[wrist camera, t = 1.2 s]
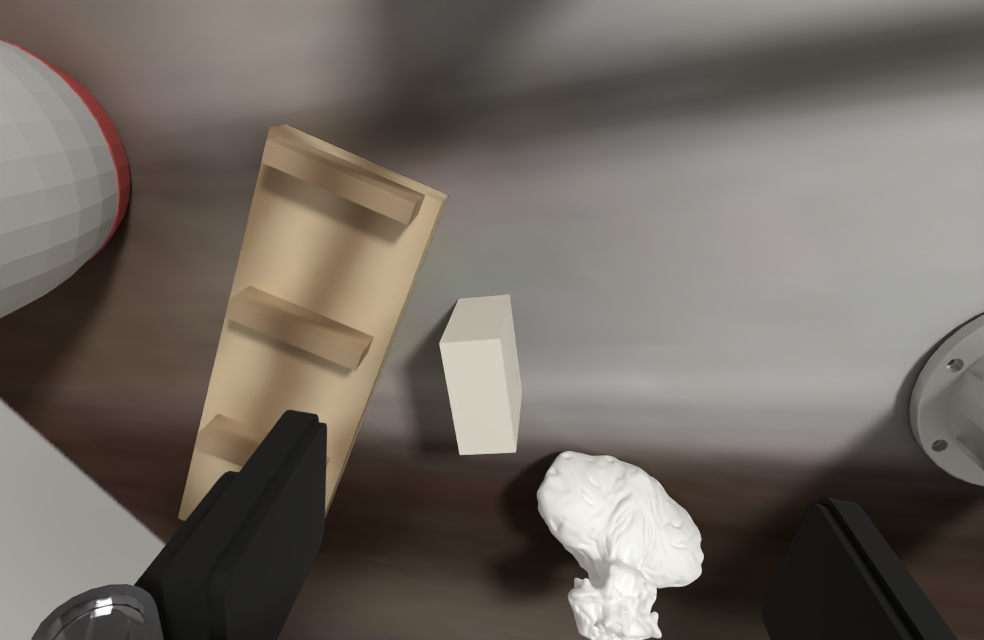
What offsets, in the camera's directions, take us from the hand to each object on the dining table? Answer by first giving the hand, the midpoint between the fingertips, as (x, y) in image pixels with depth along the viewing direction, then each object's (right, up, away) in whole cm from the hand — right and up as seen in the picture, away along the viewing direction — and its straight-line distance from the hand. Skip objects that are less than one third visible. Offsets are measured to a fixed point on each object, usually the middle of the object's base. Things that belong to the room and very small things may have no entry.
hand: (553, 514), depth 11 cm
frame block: (-1, +2, +26) cm, 26 cm away
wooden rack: (-14, 0, +28) cm, 31 cm away
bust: (+7, -8, +29) cm, 31 cm away
